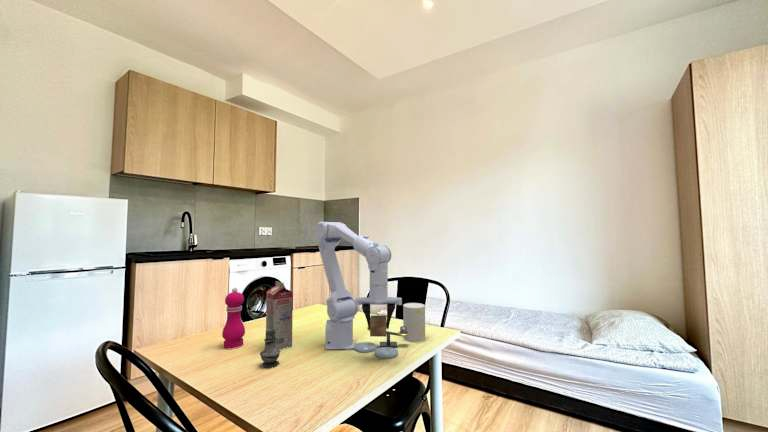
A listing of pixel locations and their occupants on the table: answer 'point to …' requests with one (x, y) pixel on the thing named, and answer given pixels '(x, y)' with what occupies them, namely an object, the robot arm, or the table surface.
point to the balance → (402, 333)
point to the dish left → (365, 347)
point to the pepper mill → (233, 320)
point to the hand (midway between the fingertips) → (378, 327)
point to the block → (378, 325)
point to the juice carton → (280, 314)
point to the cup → (414, 321)
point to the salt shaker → (270, 349)
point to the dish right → (386, 352)
